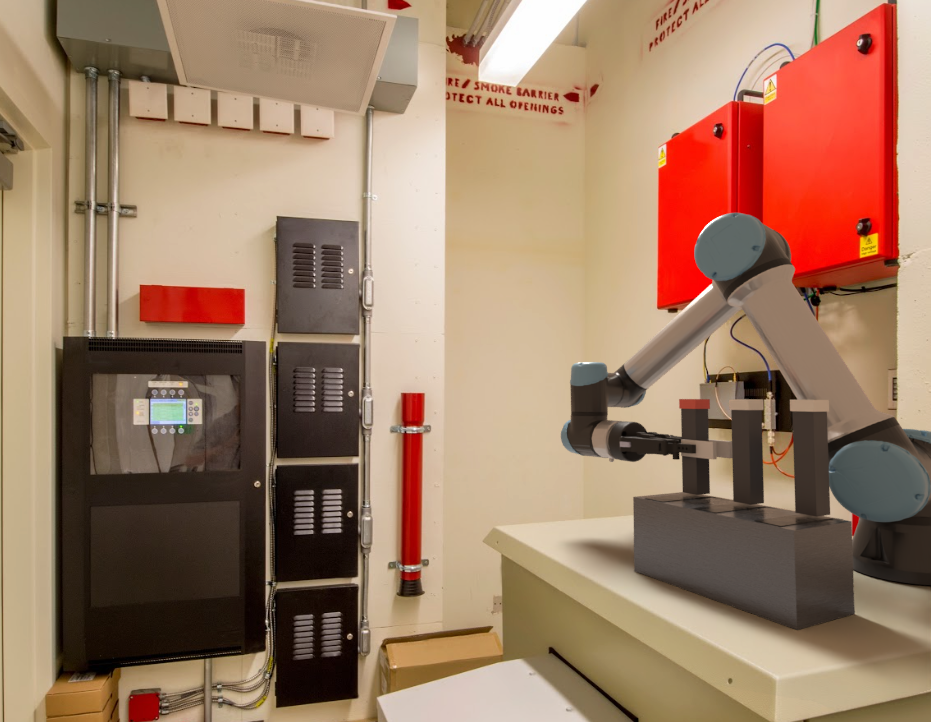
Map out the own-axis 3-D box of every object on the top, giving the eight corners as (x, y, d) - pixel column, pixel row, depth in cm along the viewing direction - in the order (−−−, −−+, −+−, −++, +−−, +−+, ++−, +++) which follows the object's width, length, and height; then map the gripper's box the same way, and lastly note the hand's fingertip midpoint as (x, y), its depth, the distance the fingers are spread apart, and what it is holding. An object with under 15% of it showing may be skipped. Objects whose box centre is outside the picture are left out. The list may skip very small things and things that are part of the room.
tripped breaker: (680, 492, 101) (679, 399, 102) (695, 490, 103) (693, 399, 104) (697, 495, 98) (695, 399, 99) (711, 493, 100) (709, 399, 101)
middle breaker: (731, 501, 92) (729, 399, 93) (746, 499, 94) (743, 399, 95) (751, 505, 89) (748, 399, 90) (766, 503, 91) (763, 399, 92)
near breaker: (793, 512, 83) (789, 399, 84) (808, 510, 85) (805, 399, 86) (817, 517, 80) (813, 399, 81) (832, 514, 82) (828, 399, 83)
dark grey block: (634, 571, 98) (633, 496, 99) (686, 562, 104) (685, 491, 105) (796, 629, 74) (794, 529, 74) (854, 613, 79) (851, 520, 80)
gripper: (652, 458, 120) (757, 471, 99) (588, 462, 113) (687, 476, 92) (652, 420, 121) (756, 425, 100) (588, 421, 113) (686, 427, 92)
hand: (722, 450), depth 96 cm, fingers closed on tripped breaker, 3 cm apart
